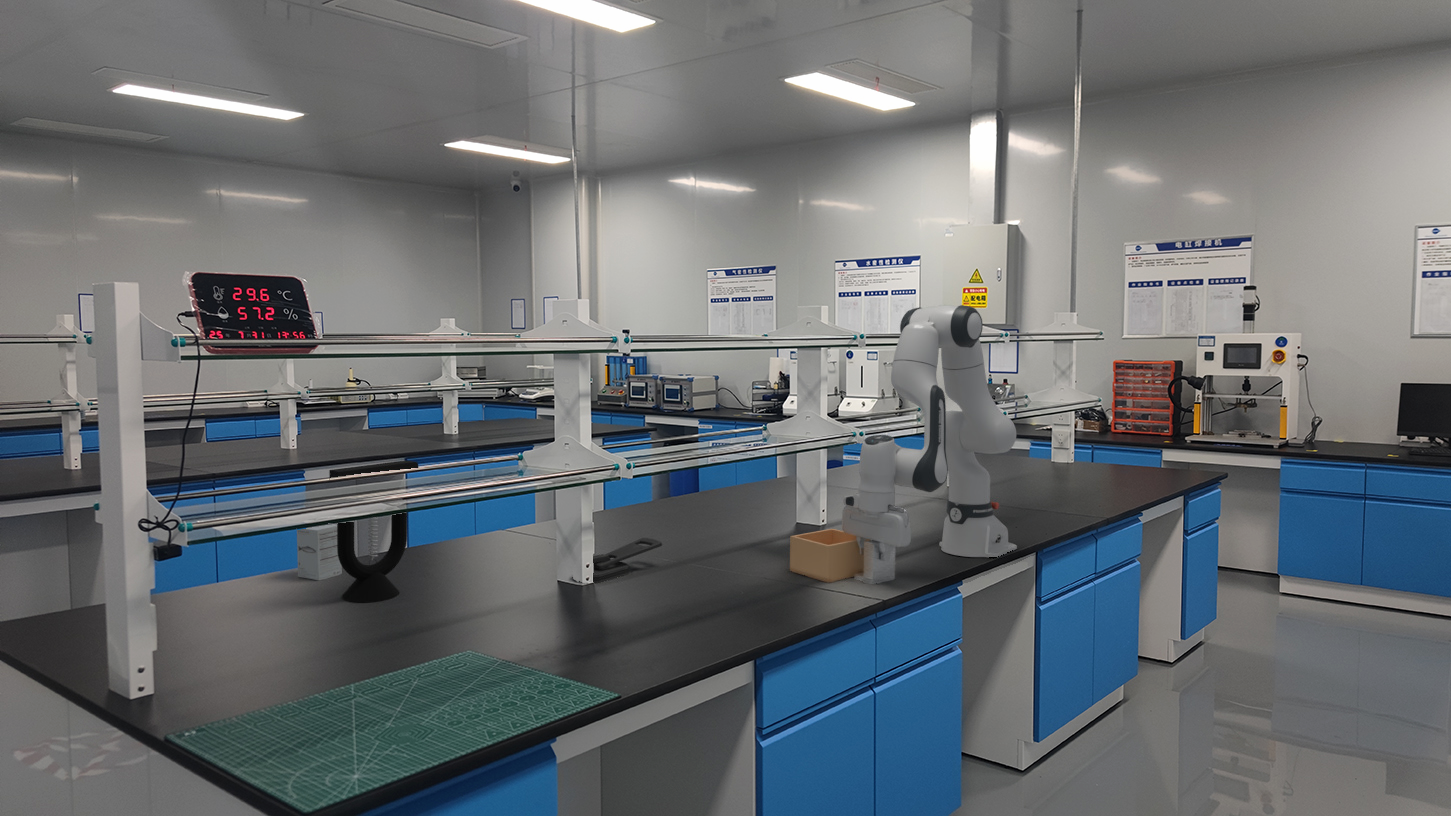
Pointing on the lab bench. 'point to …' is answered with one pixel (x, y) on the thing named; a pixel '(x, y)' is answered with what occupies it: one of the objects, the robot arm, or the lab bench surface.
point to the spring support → (371, 577)
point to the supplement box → (318, 552)
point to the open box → (826, 555)
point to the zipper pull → (619, 559)
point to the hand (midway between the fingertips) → (874, 557)
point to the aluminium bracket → (876, 564)
